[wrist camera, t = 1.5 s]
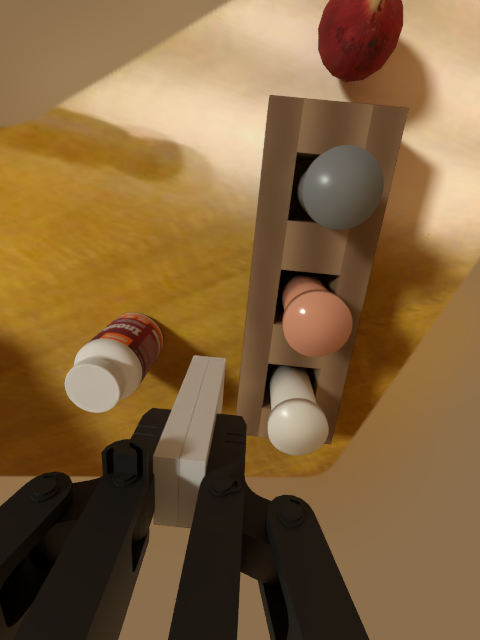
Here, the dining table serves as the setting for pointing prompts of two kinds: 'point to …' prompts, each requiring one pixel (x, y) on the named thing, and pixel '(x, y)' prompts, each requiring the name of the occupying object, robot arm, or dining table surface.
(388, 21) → the onion
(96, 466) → the dining table surface
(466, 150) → the dining table surface
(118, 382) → the pill bottle
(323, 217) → the plug blue-grey
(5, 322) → the dining table surface
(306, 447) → the plug white
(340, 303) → the plug terracotta
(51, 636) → the robot arm
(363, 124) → the socket block
